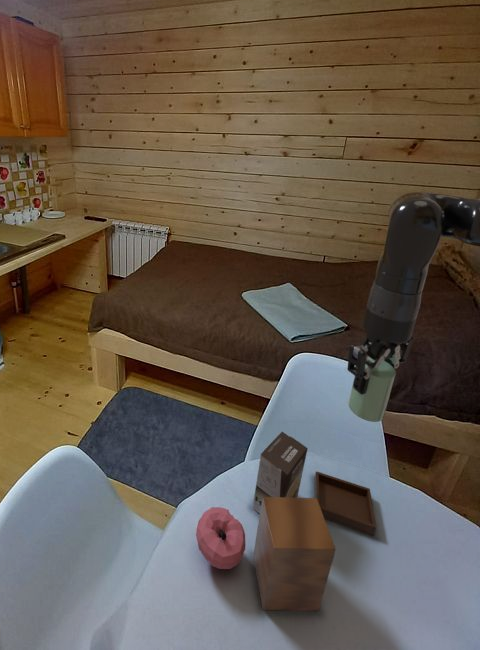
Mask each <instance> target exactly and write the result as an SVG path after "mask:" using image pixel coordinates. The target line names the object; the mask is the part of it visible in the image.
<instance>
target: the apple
mask: <svg viewBox="0 0 480 650" xmlns="http://www.w3.org/2000/svg"><path fill="white" fill-rule="evenodd" d="M197 522H198V523H197V526H196V531H195V537H196V541H197V545H198V546H197V547H198V550H199V552H200V553H201V554H202V556H203V558H204V559H205V560H206V561H207V562H208V563H209V565H210V566H212V567H214V568H217V569H219V570H231V569H233V568H235V567H236V566H237V565H239V564H240V563H241V561H242V558H243V556H244V553H245V551H246V533H245V529H244V527H243V524H242V523H241V522H240V520H238V519H237V518H235V517H234V515H232V514H231V513H230V510H229V509H228V508H224V507H221V506H217V507H215V506H212V507H210V508H209V509H207V510H205V511H203V513H202V515H201V517H199V519H198V521H197Z"/></svg>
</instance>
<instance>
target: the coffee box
mask: <svg viewBox="0 0 480 650" xmlns="http://www.w3.org/2000/svg"><path fill="white" fill-rule="evenodd" d="M307 453H308V447H307V446H305V445H304V444H303V443H301V442H300V441H299V440H296V439H295V438H294V437H293V436H289V435H288V434H287V433H285V432H283V431H281V432H279V434H278V435H277V436H276V437H275V438H274V439H273V440H272V441H271V442H270V443H269V445H267V447H266V448H265V449H264V450H263V451H262V452H261V453H260V458H259V465H258V471H257V476H256V484H255V490H254V497H253V502H252V509H253V510H255V512H256V513H258V514H259V515H260V510H261V503H262V497H283V498H298V497H299V491H300V486H301V483H302V482H301V481H302V477H303V472H304V469H305V468H304V467H305V462H306V458H307Z"/></svg>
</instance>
